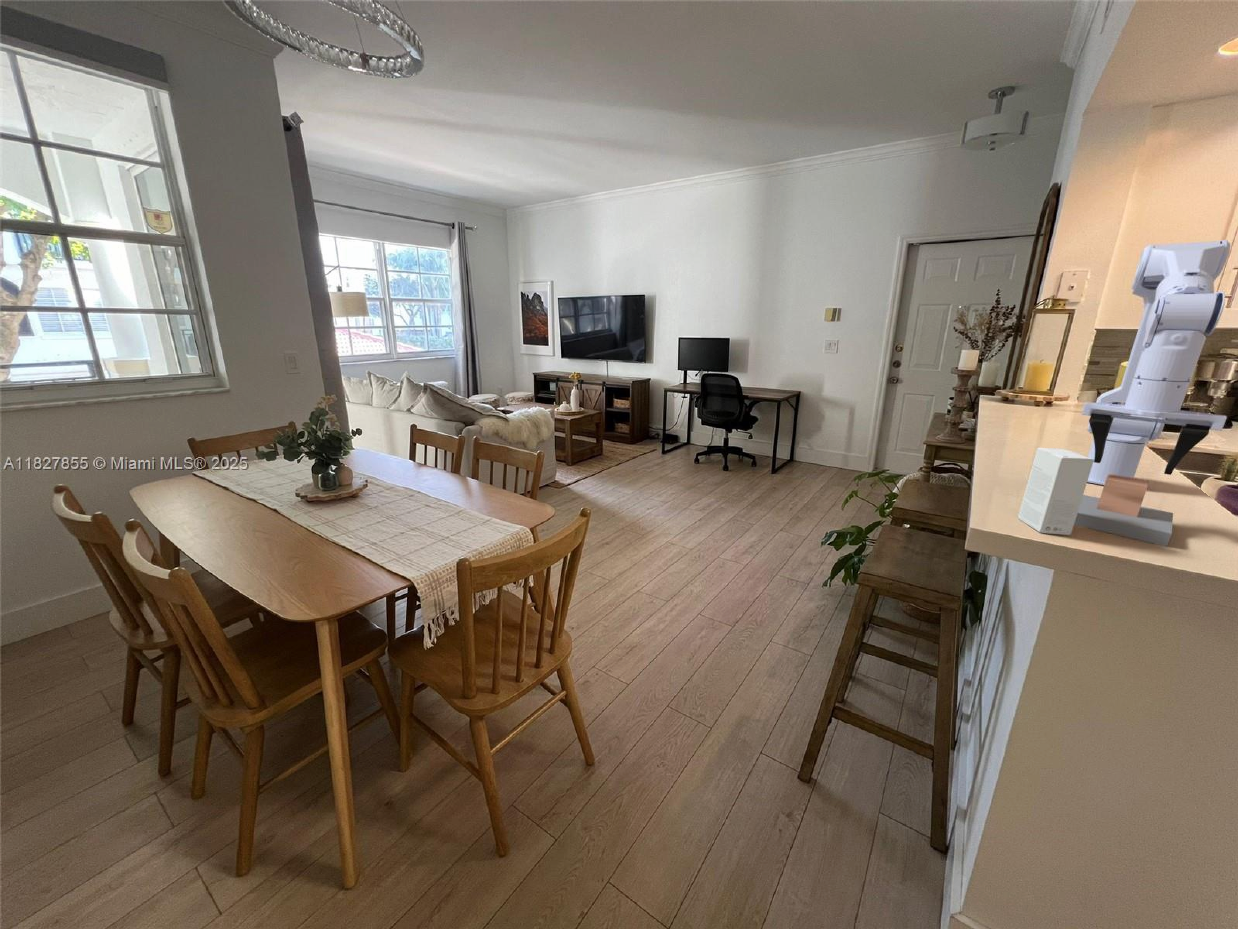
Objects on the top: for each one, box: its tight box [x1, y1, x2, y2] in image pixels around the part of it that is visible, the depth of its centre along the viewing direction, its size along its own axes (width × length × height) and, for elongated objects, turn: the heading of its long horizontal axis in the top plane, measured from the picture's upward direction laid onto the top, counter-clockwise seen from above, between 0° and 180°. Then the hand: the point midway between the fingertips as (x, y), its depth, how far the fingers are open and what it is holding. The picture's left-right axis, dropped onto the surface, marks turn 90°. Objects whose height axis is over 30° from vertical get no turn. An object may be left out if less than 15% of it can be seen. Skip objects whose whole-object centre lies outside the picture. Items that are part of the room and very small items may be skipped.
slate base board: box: [1074, 494, 1174, 547], centre depth 76 cm, size 12×12×2 cm
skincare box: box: [1017, 447, 1094, 536], centre depth 73 cm, size 6×4×12 cm
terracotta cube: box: [1097, 474, 1150, 517], centre depth 76 cm, size 4×4×5 cm
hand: (1131, 467), depth 75 cm, fingers open, 7 cm apart
